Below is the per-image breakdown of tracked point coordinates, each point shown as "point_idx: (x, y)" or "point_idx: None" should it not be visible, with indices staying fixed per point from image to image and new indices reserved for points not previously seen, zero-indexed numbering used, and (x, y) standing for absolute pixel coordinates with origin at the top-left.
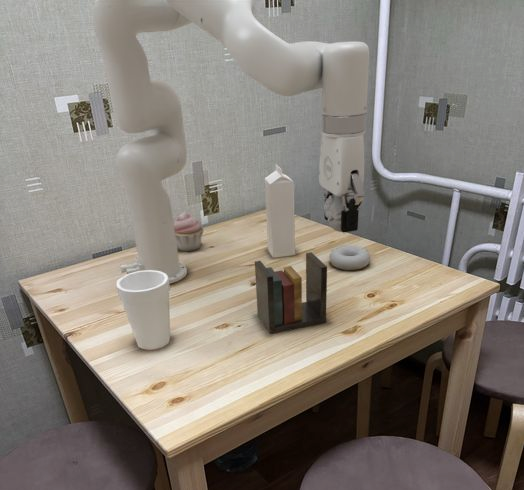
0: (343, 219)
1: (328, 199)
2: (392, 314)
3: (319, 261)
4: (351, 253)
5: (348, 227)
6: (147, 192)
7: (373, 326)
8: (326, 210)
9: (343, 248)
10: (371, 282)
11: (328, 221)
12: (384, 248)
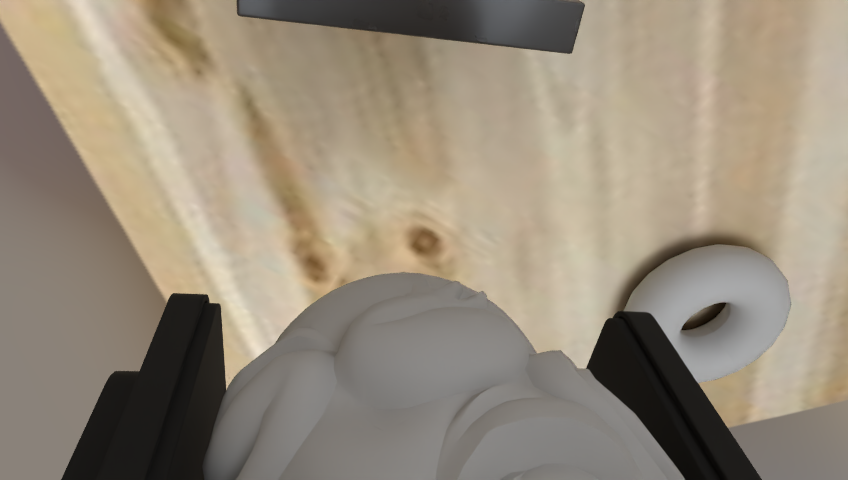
0: (127, 419)
1: None
2: (248, 234)
3: (366, 13)
4: (719, 335)
5: (110, 376)
6: None
7: (179, 125)
8: (525, 381)
9: (760, 329)
10: (514, 292)
11: (440, 289)
12: None
